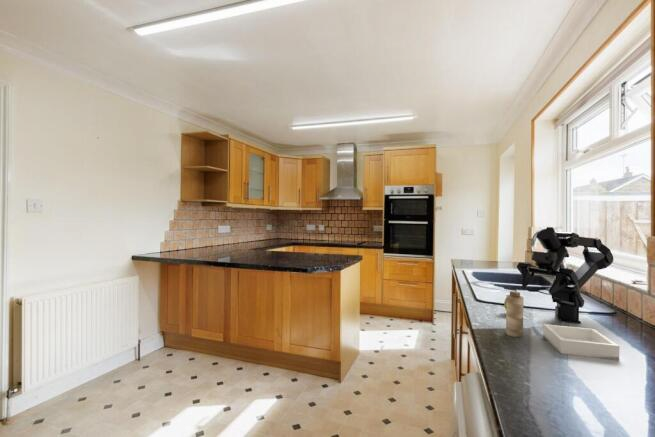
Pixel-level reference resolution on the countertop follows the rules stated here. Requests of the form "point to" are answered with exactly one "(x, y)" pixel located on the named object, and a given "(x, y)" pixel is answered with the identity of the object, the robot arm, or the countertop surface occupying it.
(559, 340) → the bin
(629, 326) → the countertop surface
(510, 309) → the pepper mill
